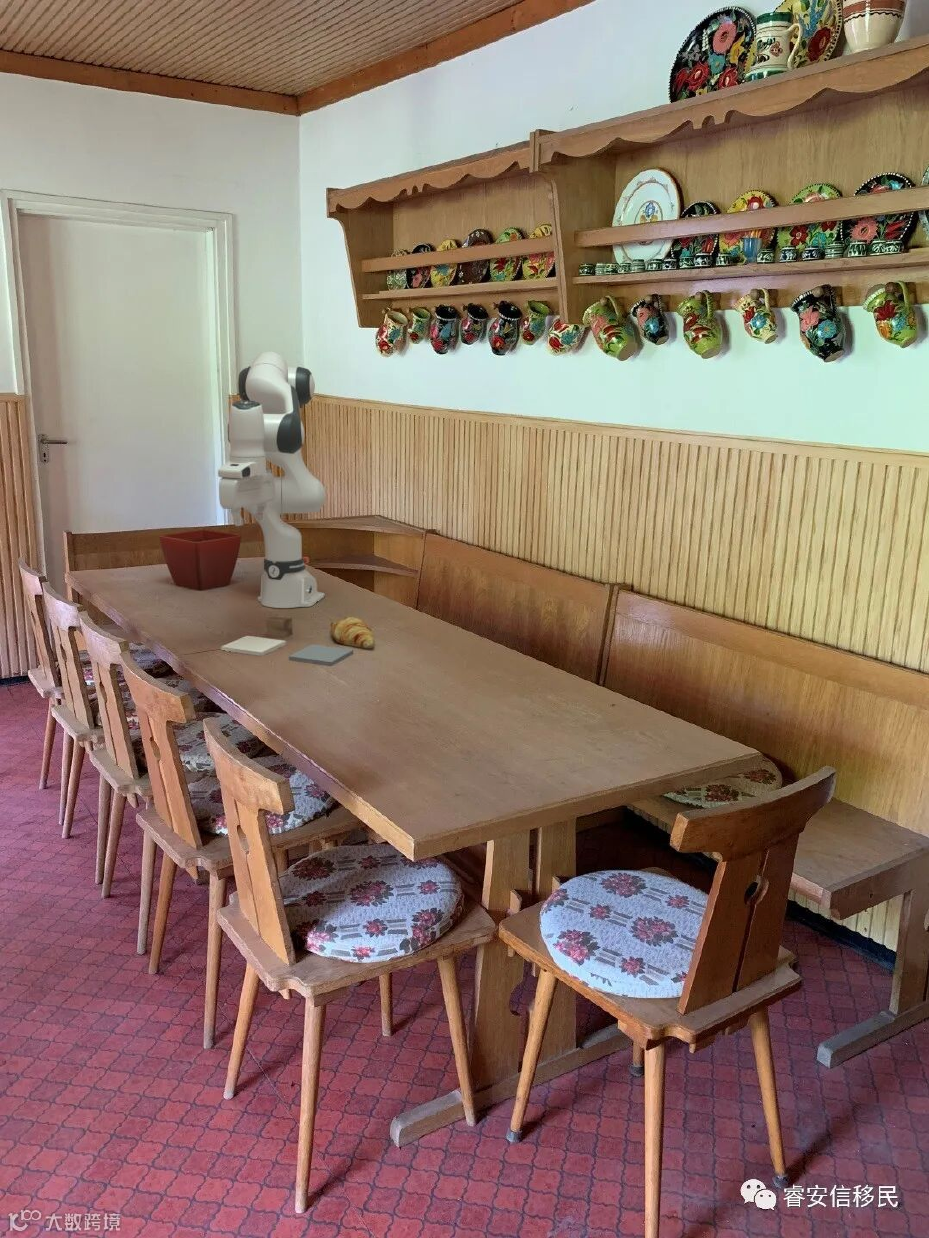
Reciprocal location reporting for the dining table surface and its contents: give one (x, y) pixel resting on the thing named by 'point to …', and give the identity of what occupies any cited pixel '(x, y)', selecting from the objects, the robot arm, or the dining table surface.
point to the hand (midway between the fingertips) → (249, 523)
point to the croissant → (352, 632)
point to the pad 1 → (253, 645)
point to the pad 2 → (321, 655)
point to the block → (279, 627)
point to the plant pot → (201, 558)
